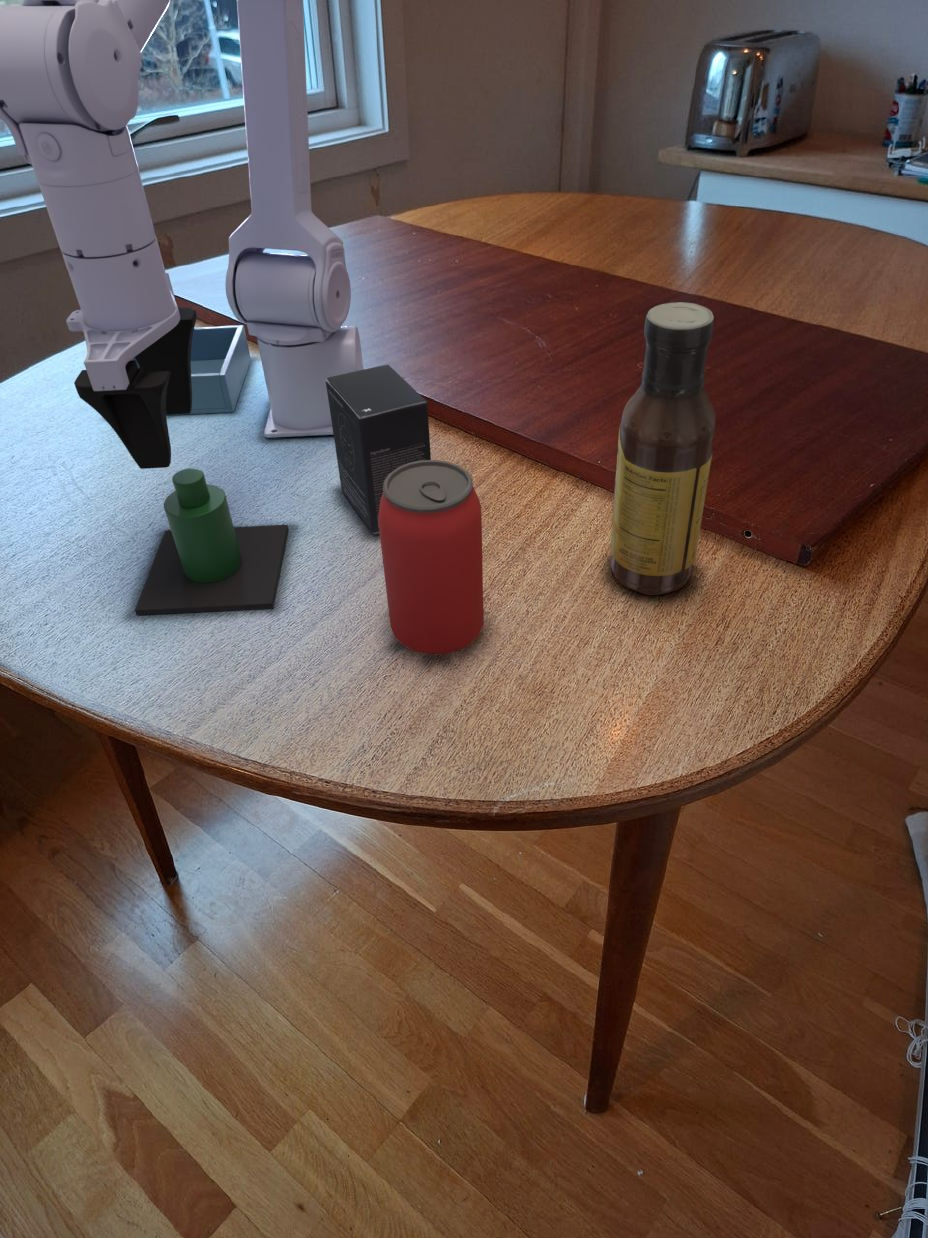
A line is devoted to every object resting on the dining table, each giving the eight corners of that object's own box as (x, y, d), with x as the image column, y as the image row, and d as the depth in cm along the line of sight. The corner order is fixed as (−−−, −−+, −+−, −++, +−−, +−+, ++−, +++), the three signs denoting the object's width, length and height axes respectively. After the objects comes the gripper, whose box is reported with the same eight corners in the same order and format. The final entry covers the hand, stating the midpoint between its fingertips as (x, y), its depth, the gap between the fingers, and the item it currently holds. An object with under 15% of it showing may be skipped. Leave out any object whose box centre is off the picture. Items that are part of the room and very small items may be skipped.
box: (436, 517, 70) (428, 400, 63) (372, 537, 68) (357, 418, 61) (399, 473, 75) (389, 360, 68) (339, 490, 74) (322, 376, 67)
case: (251, 359, 94) (243, 324, 91) (233, 412, 85) (224, 374, 82) (141, 365, 94) (130, 330, 91) (111, 418, 85) (99, 380, 82)
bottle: (246, 546, 67) (224, 458, 62) (237, 581, 64) (213, 491, 58) (190, 549, 67) (163, 461, 62) (178, 584, 64) (149, 494, 58)
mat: (288, 529, 69) (287, 524, 69) (273, 608, 62) (272, 603, 62) (166, 535, 69) (164, 530, 69) (136, 615, 62) (134, 610, 61)
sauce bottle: (653, 538, 67) (690, 284, 54) (709, 579, 63) (763, 315, 50) (588, 565, 65) (610, 306, 51) (642, 610, 61) (680, 342, 47)
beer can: (415, 672, 57) (401, 524, 49) (376, 615, 61) (357, 472, 53) (501, 639, 59) (500, 493, 51) (457, 587, 63) (451, 444, 55)
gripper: (78, 210, 58) (135, 394, 67) (2, 289, 47) (83, 495, 56) (181, 205, 58) (225, 389, 67) (130, 283, 47) (190, 490, 56)
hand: (167, 437), depth 61 cm, fingers open, 7 cm apart
